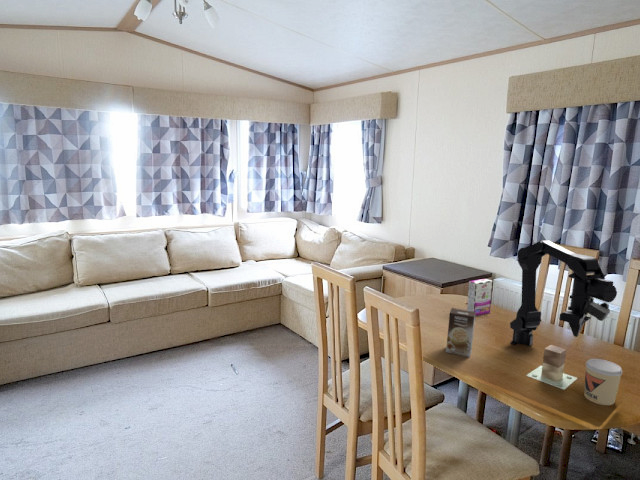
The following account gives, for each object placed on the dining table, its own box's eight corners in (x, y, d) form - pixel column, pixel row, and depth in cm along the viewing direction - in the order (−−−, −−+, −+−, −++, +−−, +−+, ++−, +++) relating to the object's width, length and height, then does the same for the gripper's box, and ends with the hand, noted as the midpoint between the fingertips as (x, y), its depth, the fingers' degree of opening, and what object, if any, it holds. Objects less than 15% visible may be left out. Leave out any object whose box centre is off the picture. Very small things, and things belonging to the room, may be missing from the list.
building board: (525, 378, 148) (526, 374, 148) (540, 367, 156) (541, 364, 156) (563, 392, 140) (564, 388, 139) (577, 380, 148) (577, 377, 147)
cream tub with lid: (574, 393, 139) (579, 358, 137) (602, 393, 140) (607, 357, 138) (595, 410, 130) (600, 372, 128) (624, 409, 131) (630, 372, 129)
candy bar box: (482, 310, 217) (485, 278, 214) (490, 313, 213) (493, 280, 210) (465, 313, 212) (468, 280, 209) (473, 316, 207) (476, 283, 205)
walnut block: (542, 362, 147) (544, 348, 146) (548, 358, 150) (550, 344, 150) (558, 367, 143) (560, 353, 143) (564, 363, 147) (566, 349, 146)
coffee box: (445, 352, 167) (448, 312, 164) (447, 346, 173) (451, 307, 170) (470, 357, 163) (474, 316, 161) (472, 351, 169) (475, 311, 166)
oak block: (541, 376, 148) (542, 362, 147) (547, 371, 151) (548, 358, 150) (556, 381, 144) (558, 367, 143) (562, 377, 148) (564, 363, 147)
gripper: (599, 304, 137) (592, 351, 140) (617, 294, 149) (610, 337, 152) (561, 296, 145) (555, 340, 148) (581, 286, 158) (575, 327, 160)
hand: (575, 336), depth 152 cm, fingers closed
